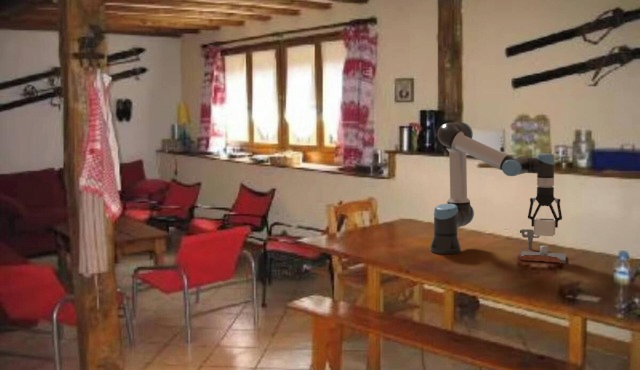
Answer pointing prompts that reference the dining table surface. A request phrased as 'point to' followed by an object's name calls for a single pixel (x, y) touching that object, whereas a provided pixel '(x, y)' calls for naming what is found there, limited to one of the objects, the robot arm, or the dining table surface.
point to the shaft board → (561, 256)
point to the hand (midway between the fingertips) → (544, 233)
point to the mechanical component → (529, 236)
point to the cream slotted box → (544, 227)
